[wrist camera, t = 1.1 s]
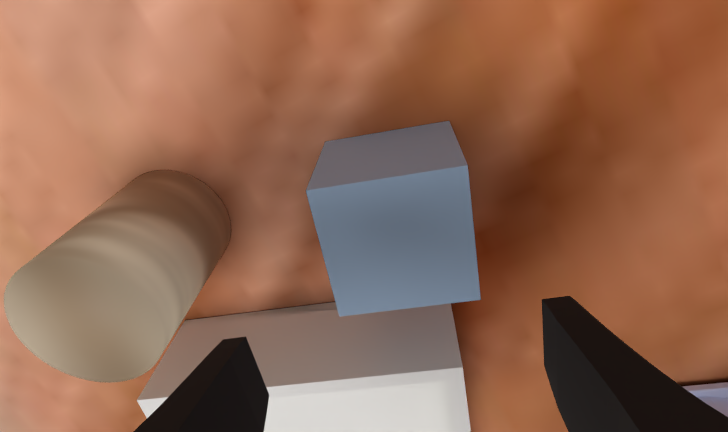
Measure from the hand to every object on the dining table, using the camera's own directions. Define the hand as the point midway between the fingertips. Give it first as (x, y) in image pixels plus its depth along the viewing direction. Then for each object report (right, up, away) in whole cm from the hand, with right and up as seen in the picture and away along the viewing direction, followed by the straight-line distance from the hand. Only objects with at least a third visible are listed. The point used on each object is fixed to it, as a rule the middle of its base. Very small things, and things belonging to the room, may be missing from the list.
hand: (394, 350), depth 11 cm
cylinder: (-9, +3, +10) cm, 14 cm away
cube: (+1, +4, +8) cm, 10 cm away
